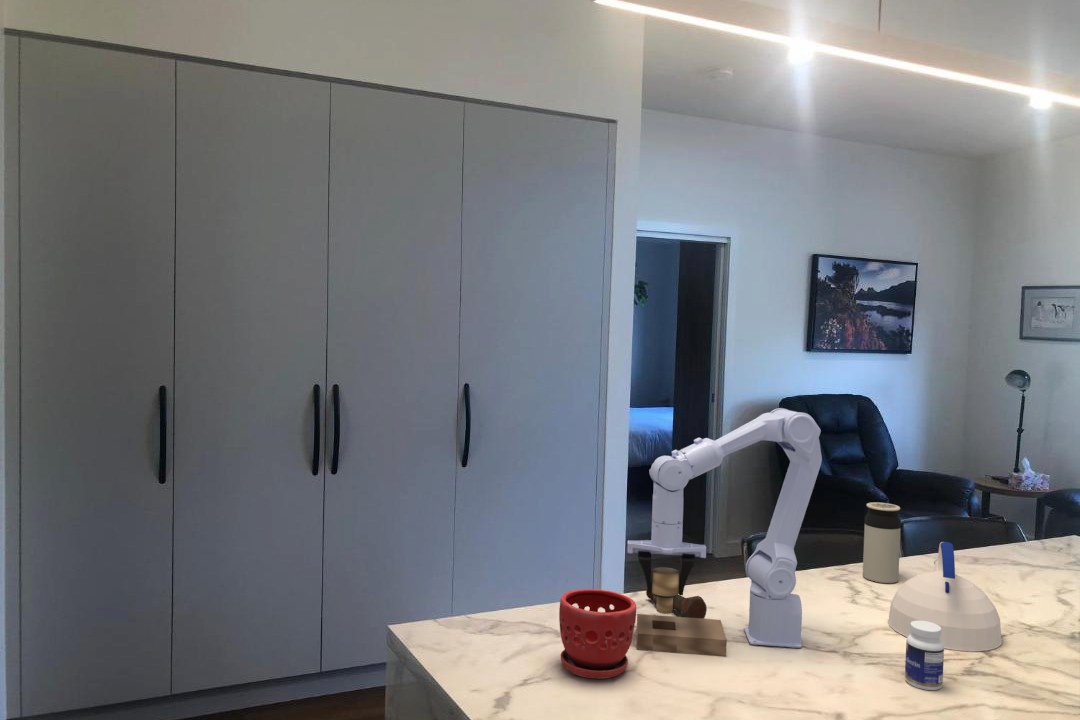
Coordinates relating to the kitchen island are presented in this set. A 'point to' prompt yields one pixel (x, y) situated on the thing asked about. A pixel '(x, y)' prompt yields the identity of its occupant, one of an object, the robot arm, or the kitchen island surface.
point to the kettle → (947, 607)
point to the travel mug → (881, 543)
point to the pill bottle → (924, 656)
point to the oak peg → (665, 588)
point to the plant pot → (596, 632)
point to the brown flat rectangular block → (681, 635)
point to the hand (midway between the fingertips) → (664, 592)
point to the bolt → (686, 605)
